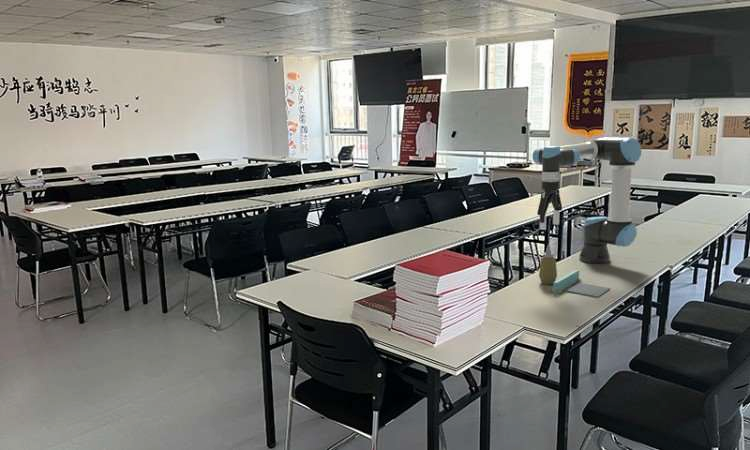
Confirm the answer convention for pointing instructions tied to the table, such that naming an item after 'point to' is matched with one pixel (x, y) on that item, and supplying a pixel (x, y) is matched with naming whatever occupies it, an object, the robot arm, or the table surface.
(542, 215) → the robot arm
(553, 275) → the squeeze bottle
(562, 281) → the fence
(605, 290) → the mat
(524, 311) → the table surface
